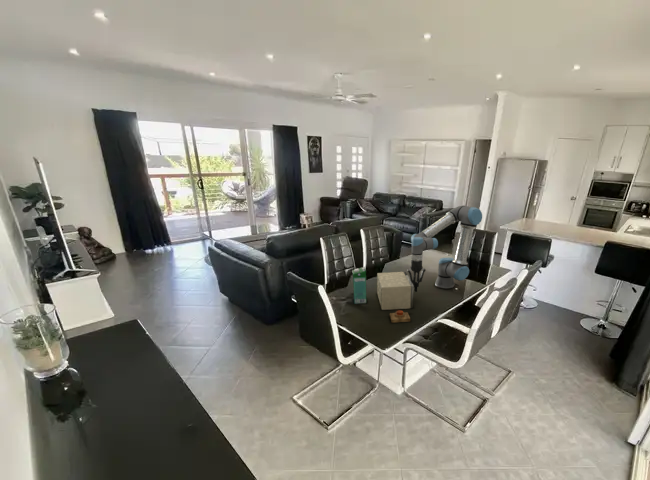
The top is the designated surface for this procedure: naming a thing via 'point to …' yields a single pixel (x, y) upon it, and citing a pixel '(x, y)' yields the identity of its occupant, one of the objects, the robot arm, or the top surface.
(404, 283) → the beige box
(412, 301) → the door
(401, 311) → the button
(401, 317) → the tan button base
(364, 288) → the milk carton
